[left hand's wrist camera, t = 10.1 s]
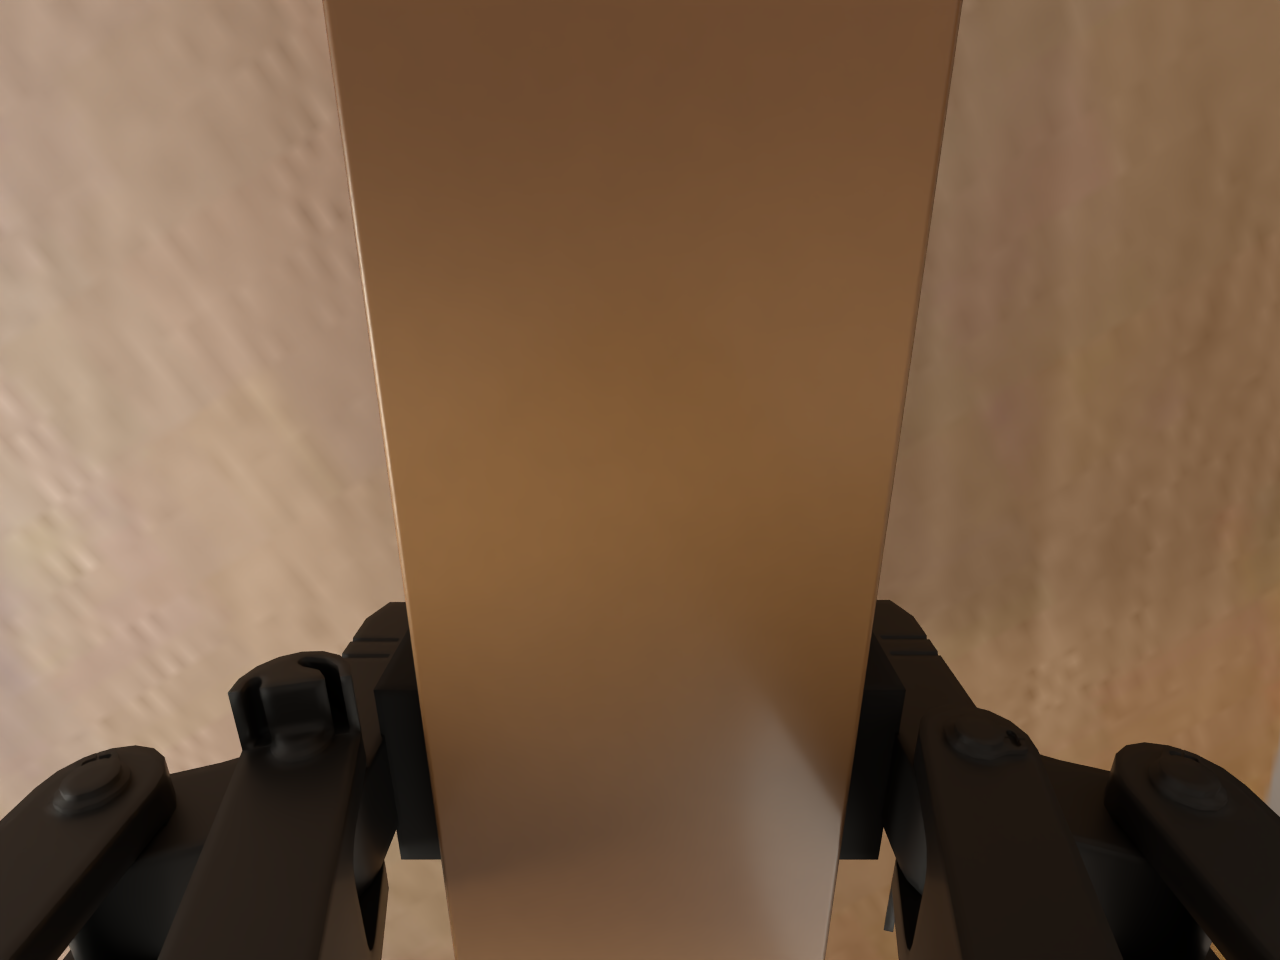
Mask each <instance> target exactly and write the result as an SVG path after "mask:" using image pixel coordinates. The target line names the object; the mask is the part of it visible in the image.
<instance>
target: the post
mask: <svg viewBox="0 0 1280 960" xmlns="http://www.w3.org/2000/svg"><path fill="white" fill-rule="evenodd" d="M322 1H323V9H324V16H325V23H326V30H327V37H328V45H329V52H330V59H331V66H332V74H333V81H334V88H335V95H336V102H337V110H338V117H339V124H340V131H341V139H342V146H343V153H344V160H345V167H346V175H347V182H348V189H349V196H350V204H351V211H352V218H353V225H354V232H355V240H356V247H357V254H358V261H359V269H360V276H361V283H362V290H363V297H364V305H365V312H366V319H367V326H368V334H369V341H370V348H371V355H372V362H373V370H374V377H375V384H376V391H377V399H378V406H379V413H380V420H381V427H382V435H383V442H384V449H385V456H386V464H387V471H388V478H389V485H390V492H391V500H392V507H393V514H394V521H395V529H396V536H397V543H398V550H399V557H400V565H401V572H402V579H403V586H404V594H405V601H406V608H407V615H408V622H409V630H410V637H411V644H412V651H413V659H414V666H415V673H416V680H417V687H418V695H419V702H420V709H421V716H422V724H423V731H424V738H425V745H426V752H427V760H428V767H429V774H430V781H431V789H432V796H433V803H434V810H435V817H436V825H437V832H438V839H439V846H440V854H441V861H442V868H443V875H444V882H445V890H446V897H447V904H448V911H449V919H450V926H451V933H452V940H453V947H454V955H455V960H825V955H826V948H827V941H828V934H829V927H830V920H831V913H832V906H833V899H834V892H835V885H836V878H837V871H838V864H839V857H840V850H841V843H842V836H843V829H844V822H845V815H846V808H847V801H848V794H849V787H850V780H851V774H852V767H853V760H854V753H855V746H856V739H857V732H858V725H859V718H860V711H861V704H862V697H863V690H864V683H865V676H866V669H867V662H868V655H869V648H870V641H871V634H872V627H873V620H874V613H875V606H876V600H877V593H878V586H879V579H880V572H881V565H882V558H883V551H884V544H885V537H886V530H887V523H888V516H889V509H890V502H891V495H892V488H893V481H894V474H895V467H896V460H897V453H898V446H899V439H900V432H901V425H902V419H903V412H904V405H905V398H906V391H907V384H908V377H909V370H910V363H911V356H912V349H913V342H914V335H915V328H916V321H917V314H918V307H919V300H920V293H921V286H922V279H923V272H924V265H925V258H926V251H927V245H928V238H929V231H930V224H931V217H932V210H933V203H934V196H935V189H936V182H937V175H938V168H939V161H940V154H941V147H942V140H943V133H944V126H945V119H946V112H947V105H948V98H949V91H950V84H951V77H952V71H953V64H954V57H955V50H956V43H957V36H958V29H959V22H960V15H961V8H962V1H963V0H322Z"/></svg>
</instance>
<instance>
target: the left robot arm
mask: <svg viewBox="0 0 1280 960" xmlns="http://www.w3.org/2000/svg"><path fill="white" fill-rule="evenodd" d="M228 696H229V700H230V704H231V707H232V711H233V715H234V719H235V723H236V727H237V731H238V735H239V739H240V743H241V747H242V753H241V755H240V757H239V758H236V759H232V760H229V761H226V762H222V763H218V764H213V765H209V766H204V767H200V768H195V769H191V770H186V771H182V772H178V773H173V774H169V771H168V767H167V764H166V761H165V758H164V756H162V755H161V754H160V753H159V752H158V751H157V750H155V749H154V748H149V747H142V746H136V745H135V746H127V747H120V748H112V749H109V750H105V751H102V752H99V753H95V754H92V755H90V756H87V757H84V758H82V759H80V760H78V761H76V762H74V763H73V764H71V765H69V766H67V767H65V768H63V769H61V770H59V771H57V772H56V773H55V774H53V775H52V776H51V777H49V778H48V779H47V780H45V781H44V782H43V783H41V784H40V785H39V786H37V787H36V788H35V789H34V790H33V791H32V792H31V793H30V794H28V795H27V796H26V797H25V798H24V799H23V800H22V801H21V802H20V803H19V804H18V805H17V806H16V807H15V808H14V809H13V810H11V811H10V812H9V813H8V814H7V815H6V816H5V817H4V818H3V819H2V820H1V821H0V960H57V959H58V958H59V957H60V955H61V954H62V953H63V952H64V950H65V949H66V948H67V946H68V945H69V947H70V951H69V953H68V954H67V955H66V956H65V958H64V959H63V960H381V958H382V948H383V938H384V929H385V919H386V909H387V900H388V890H389V887H388V880H387V873H386V867H385V861H384V859H385V856H386V854H387V851H388V849H389V846H390V844H391V841H392V839H393V836H394V834H395V831H396V830H397V836H398V842H399V848H400V854H401V859H441V854H440V846H439V839H438V832H437V825H436V817H435V810H434V803H433V796H432V789H431V781H430V774H429V767H428V760H427V752H426V745H425V738H424V731H423V724H422V716H421V709H420V702H419V695H418V687H417V680H416V673H415V666H414V659H413V651H412V644H411V637H410V630H409V622H408V615H407V608H406V602H389V603H388V604H387V605H385V606H384V607H382V608H381V609H379V610H378V611H377V612H375V613H374V614H372V615H371V616H369V617H368V618H367V619H366V620H365V621H364V623H363V624H362V626H361V627H360V629H359V630H358V631H357V633H356V634H355V636H354V637H353V642H350V643H349V645H348V646H347V647H346V649H345V650H344V652H343V653H342V657H341V656H340V655H337V654H333V653H329V652H325V651H311V652H299V653H295V654H290V655H286V656H281V657H278V658H276V659H273V660H271V661H269V662H266V663H264V664H261V665H259V666H257V667H255V668H254V669H253V670H251V671H250V672H248V673H247V674H245V675H244V676H242V677H241V678H239V679H238V681H237V682H236V683H235V684H234V686H233V687H232V688H231V689H230V691H229V692H228ZM883 827H884V829H885V832H886V834H887V837H888V839H889V842H890V844H891V847H892V849H893V852H894V854H895V857H896V861H895V867H894V873H893V878H892V884H891V889H890V895H889V901H888V906H887V912H886V919H885V925H884V930H886V931H890V932H893V929H894V923H895V927H896V937H897V946H898V956H899V960H1219V958H1218V957H1217V956H1216V954H1215V953H1214V952H1213V951H1212V949H1211V948H1210V945H1211V943H1212V942H1213V944H1214V945H1215V946H1216V947H1217V949H1218V950H1219V951H1220V952H1221V954H1222V955H1223V956H1224V957H1225V959H1226V960H1280V817H1279V816H1278V815H1277V814H1276V813H1275V812H1274V811H1273V810H1272V809H1270V808H1269V807H1268V806H1267V805H1266V804H1265V803H1264V802H1263V801H1262V800H1261V799H1260V798H1259V797H1258V796H1257V795H1256V794H1254V793H1253V792H1252V791H1251V790H1250V789H1249V788H1248V787H1247V786H1246V785H1245V784H1243V783H1242V782H1241V781H1239V780H1238V779H1237V778H1235V777H1234V776H1233V775H1231V774H1230V773H1229V772H1227V771H1226V770H1225V769H1223V768H1222V767H1220V766H1218V765H1216V764H1214V763H1212V762H1210V761H1208V760H1206V759H1204V758H1202V757H1200V756H1198V755H1196V754H1194V753H1191V752H1188V751H1186V750H1181V749H1179V748H1175V747H1172V746H1169V745H1161V744H1153V743H1145V742H1144V743H1138V744H1131V745H1126V746H1125V747H1124V748H1122V749H1121V750H1120V751H1119V752H1118V753H1116V755H1115V759H1114V762H1113V765H1112V768H1111V771H1107V770H1102V769H1097V768H1093V767H1088V766H1084V765H1079V764H1075V763H1070V762H1066V761H1061V760H1057V759H1054V758H1050V757H1047V756H1043V755H1040V754H1039V752H1038V749H1037V748H1036V747H1035V745H1034V744H1033V742H1032V741H1031V739H1030V738H1029V736H1028V735H1027V734H1026V733H1025V732H1023V731H1022V730H1021V729H1020V728H1018V727H1017V726H1016V725H1015V724H1013V723H1012V722H1011V721H1009V720H1007V719H1005V718H1003V717H1001V716H999V715H997V714H995V713H992V712H990V711H988V710H984V709H980V708H977V707H976V706H975V704H974V703H973V702H972V700H971V699H970V697H969V696H968V694H967V693H966V692H965V690H964V689H963V687H962V686H961V684H960V683H959V681H958V680H957V679H956V677H955V676H954V674H953V673H952V671H951V670H950V669H949V667H948V666H947V664H946V663H945V661H944V660H943V658H942V657H941V656H938V651H937V650H936V648H935V647H934V645H933V644H932V643H931V641H930V640H929V639H927V635H926V634H925V633H924V631H923V630H922V628H921V627H920V625H919V624H918V622H917V621H916V620H915V618H914V617H913V616H912V615H911V614H909V613H908V612H906V611H905V610H903V609H902V608H900V607H899V606H898V605H896V604H895V603H893V602H892V601H890V600H876V606H875V613H874V620H873V627H872V634H871V641H870V648H869V655H868V662H867V669H866V676H865V683H864V690H863V697H862V704H861V711H860V718H859V725H858V732H857V739H856V746H855V753H854V760H853V767H852V774H851V780H850V787H849V794H848V801H847V808H846V815H845V822H844V829H843V836H842V843H841V850H840V857H839V859H878V857H879V851H880V845H881V839H882V832H883Z"/></svg>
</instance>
